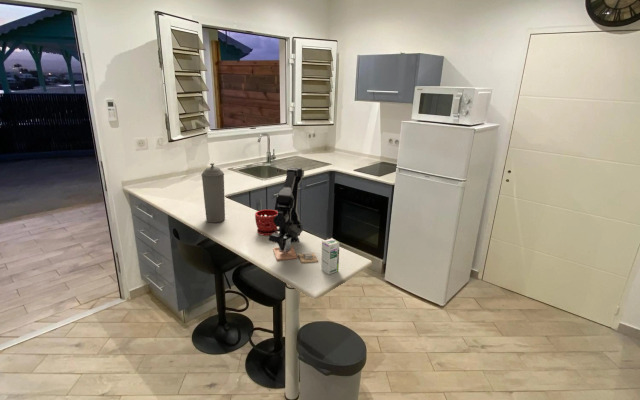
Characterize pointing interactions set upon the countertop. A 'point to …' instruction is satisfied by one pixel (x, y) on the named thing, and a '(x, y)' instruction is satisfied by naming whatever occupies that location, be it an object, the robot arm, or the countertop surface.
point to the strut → (286, 245)
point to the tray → (284, 254)
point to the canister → (214, 194)
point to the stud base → (307, 257)
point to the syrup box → (330, 256)
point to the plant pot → (266, 222)
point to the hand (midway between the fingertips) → (284, 248)
